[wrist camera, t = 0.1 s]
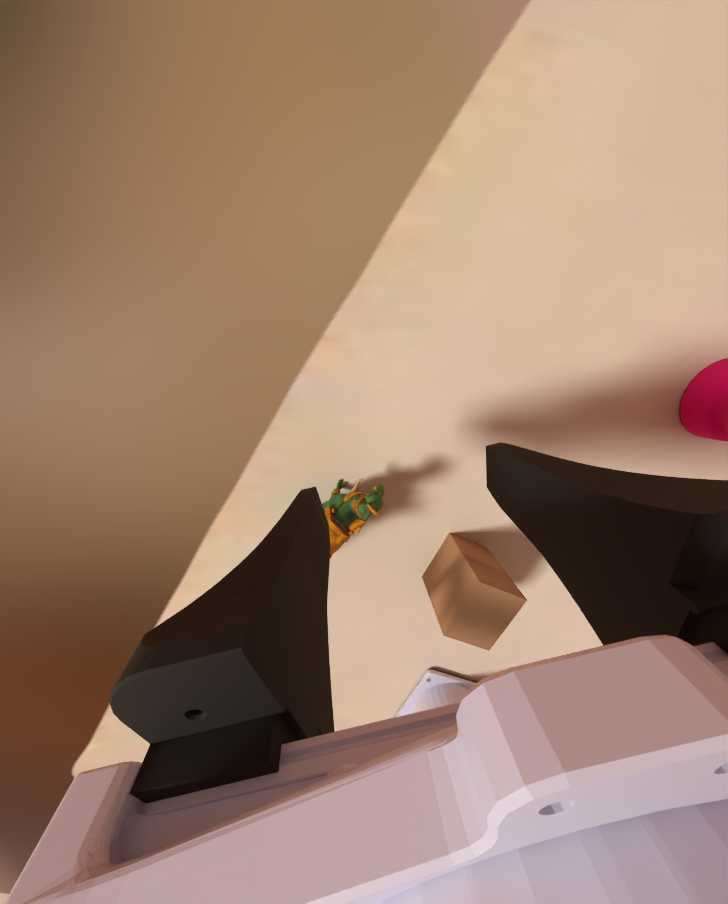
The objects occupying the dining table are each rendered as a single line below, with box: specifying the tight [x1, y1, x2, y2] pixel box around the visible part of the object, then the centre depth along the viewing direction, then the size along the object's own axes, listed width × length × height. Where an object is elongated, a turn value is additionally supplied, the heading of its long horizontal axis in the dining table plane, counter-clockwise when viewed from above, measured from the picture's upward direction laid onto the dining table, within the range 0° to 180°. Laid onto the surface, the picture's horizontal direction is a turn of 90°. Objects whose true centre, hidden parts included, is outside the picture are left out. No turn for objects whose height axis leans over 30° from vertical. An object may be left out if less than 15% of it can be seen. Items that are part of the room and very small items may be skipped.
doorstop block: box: [422, 533, 527, 650], centre depth 23 cm, size 5×4×6 cm
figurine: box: [322, 479, 384, 558], centre depth 20 cm, size 3×12×8 cm, turn 132°
